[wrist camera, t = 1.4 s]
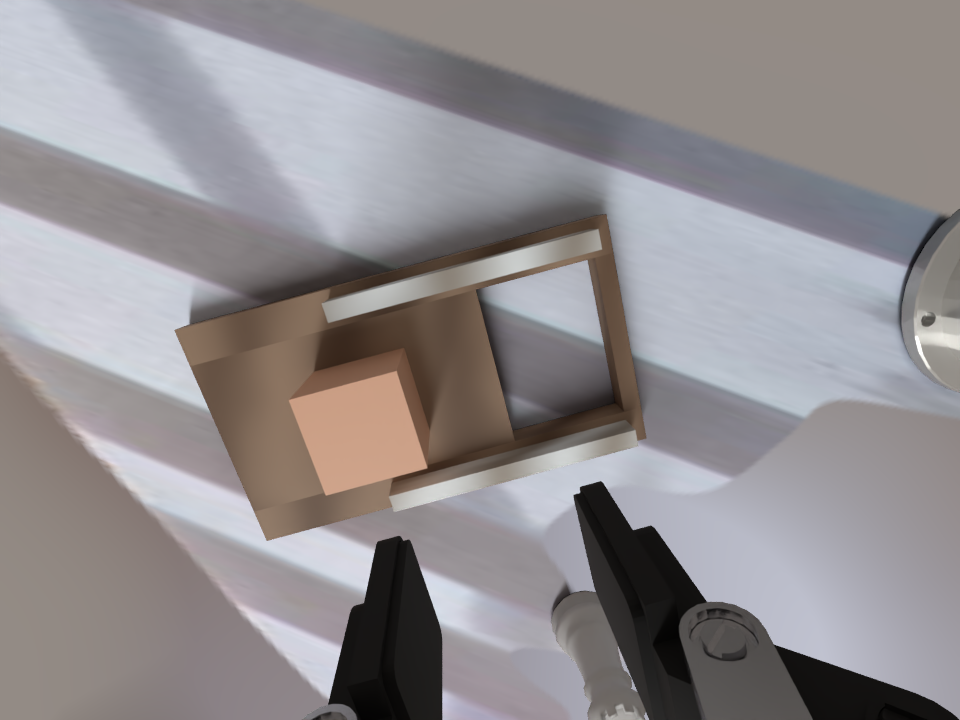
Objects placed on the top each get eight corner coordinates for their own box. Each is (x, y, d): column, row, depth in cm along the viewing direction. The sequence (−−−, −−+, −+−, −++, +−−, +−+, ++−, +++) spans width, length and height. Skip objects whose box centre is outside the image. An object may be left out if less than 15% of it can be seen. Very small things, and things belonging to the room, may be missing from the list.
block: (404, 347, 26) (396, 371, 22) (429, 430, 28) (427, 468, 23) (313, 371, 26) (288, 399, 22) (343, 453, 28) (325, 495, 23)
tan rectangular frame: (597, 215, 27) (616, 213, 24) (636, 428, 30) (657, 449, 27) (188, 324, 27) (157, 336, 24) (275, 525, 30) (257, 557, 27)
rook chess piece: (561, 649, 34) (595, 771, 27) (540, 600, 33) (570, 713, 25) (621, 627, 34) (673, 743, 26) (603, 577, 33) (652, 684, 25)
